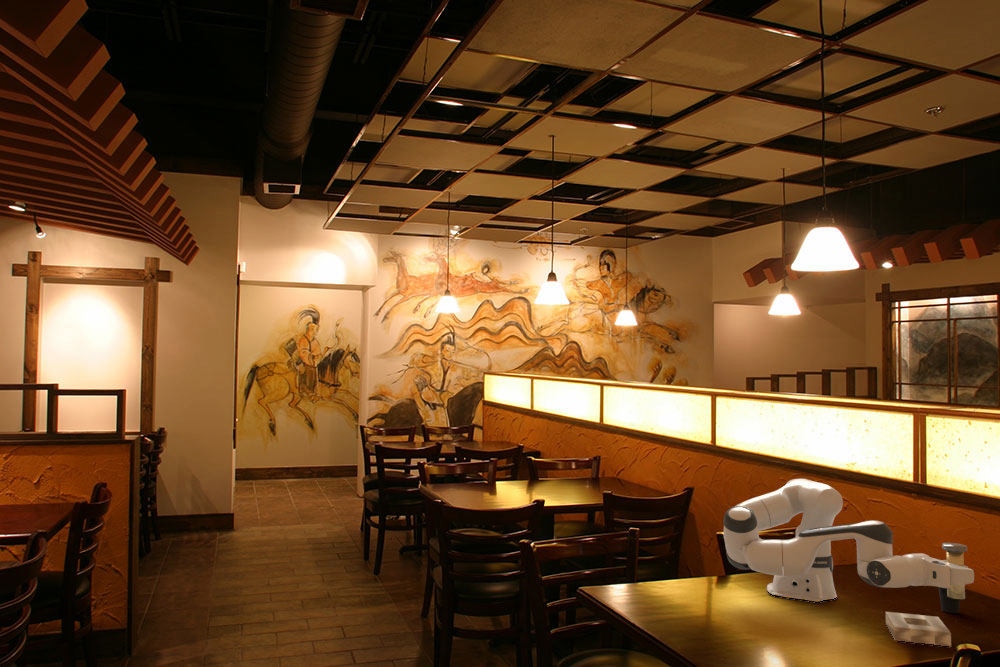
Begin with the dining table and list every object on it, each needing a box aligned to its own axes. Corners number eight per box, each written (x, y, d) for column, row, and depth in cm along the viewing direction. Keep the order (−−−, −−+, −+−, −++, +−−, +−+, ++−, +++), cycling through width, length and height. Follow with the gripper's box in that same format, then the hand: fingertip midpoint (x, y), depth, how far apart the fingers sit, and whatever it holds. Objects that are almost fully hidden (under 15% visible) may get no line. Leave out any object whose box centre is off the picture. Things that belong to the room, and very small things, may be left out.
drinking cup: (964, 617, 224) (962, 552, 225) (936, 612, 228) (934, 549, 230) (964, 610, 231) (962, 547, 232) (936, 606, 235) (934, 544, 236)
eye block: (894, 641, 204) (894, 626, 204) (885, 625, 217) (885, 611, 217) (951, 647, 199) (950, 632, 199) (938, 630, 212) (938, 616, 213)
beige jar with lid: (946, 599, 211) (944, 546, 212) (941, 592, 217) (939, 542, 218) (971, 601, 209) (970, 548, 209) (965, 595, 215) (963, 543, 216)
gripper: (892, 570, 219) (928, 567, 223) (950, 590, 200) (989, 586, 204) (891, 550, 220) (927, 547, 224) (950, 567, 200) (988, 563, 204)
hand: (957, 565), depth 213 cm, fingers closed on beige jar with lid, 4 cm apart
